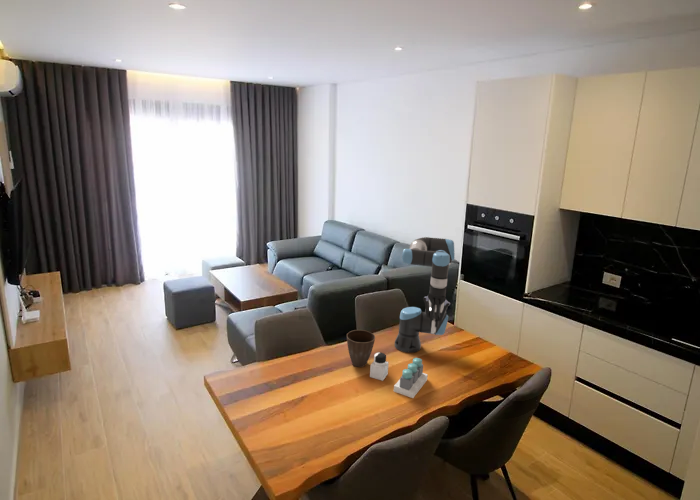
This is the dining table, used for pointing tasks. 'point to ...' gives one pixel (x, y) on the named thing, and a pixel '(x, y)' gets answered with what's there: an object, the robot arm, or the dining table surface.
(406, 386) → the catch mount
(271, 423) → the dining table surface
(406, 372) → the knob
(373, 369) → the medicine bottle
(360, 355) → the plant pot
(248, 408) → the dining table surface
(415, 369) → the knob
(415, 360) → the knob
